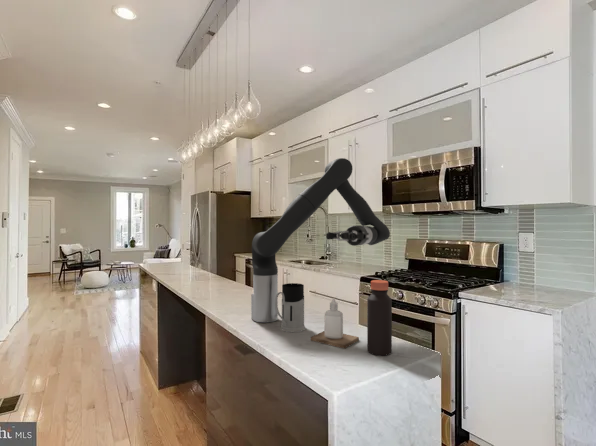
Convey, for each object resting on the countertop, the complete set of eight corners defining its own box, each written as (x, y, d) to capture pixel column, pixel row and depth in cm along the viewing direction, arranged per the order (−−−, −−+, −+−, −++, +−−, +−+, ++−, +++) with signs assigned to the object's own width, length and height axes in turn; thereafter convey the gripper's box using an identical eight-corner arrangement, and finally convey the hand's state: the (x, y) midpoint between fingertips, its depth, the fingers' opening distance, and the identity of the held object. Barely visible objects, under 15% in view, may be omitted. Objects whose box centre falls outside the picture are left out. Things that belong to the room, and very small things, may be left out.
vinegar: (362, 352, 97) (362, 281, 97) (375, 345, 102) (375, 278, 102) (384, 358, 93) (384, 284, 93) (396, 351, 98) (396, 281, 98)
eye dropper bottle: (335, 341, 103) (335, 301, 103) (322, 336, 108) (322, 298, 108) (345, 337, 106) (345, 299, 106) (331, 333, 111) (331, 296, 111)
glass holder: (310, 327, 121) (310, 284, 121) (286, 338, 109) (286, 291, 109) (289, 323, 126) (289, 282, 126) (265, 333, 114) (265, 288, 114)
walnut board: (310, 340, 107) (310, 337, 107) (326, 333, 114) (326, 330, 114) (344, 348, 100) (344, 345, 100) (358, 340, 107) (358, 337, 107)
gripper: (342, 225, 136) (320, 225, 123) (376, 225, 127) (356, 225, 114) (342, 244, 136) (320, 246, 123) (376, 245, 127) (356, 248, 114)
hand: (338, 236), depth 119 cm, fingers open, 8 cm apart
